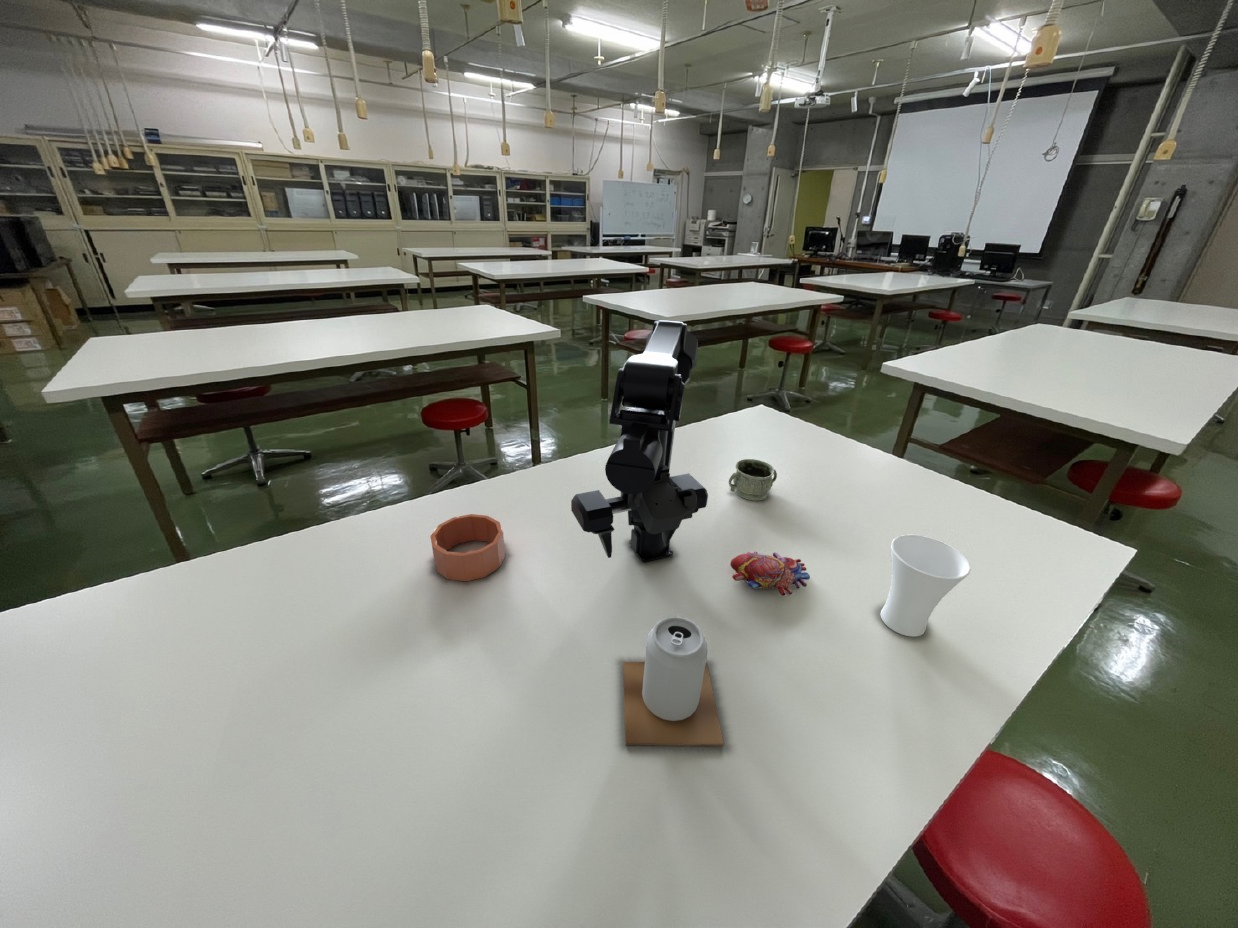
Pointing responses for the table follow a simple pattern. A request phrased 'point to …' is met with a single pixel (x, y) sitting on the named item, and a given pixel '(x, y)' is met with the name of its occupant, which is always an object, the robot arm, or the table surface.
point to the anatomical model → (769, 571)
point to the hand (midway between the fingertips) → (637, 549)
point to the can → (674, 668)
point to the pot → (469, 562)
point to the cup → (920, 581)
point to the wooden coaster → (659, 731)
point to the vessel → (752, 479)
